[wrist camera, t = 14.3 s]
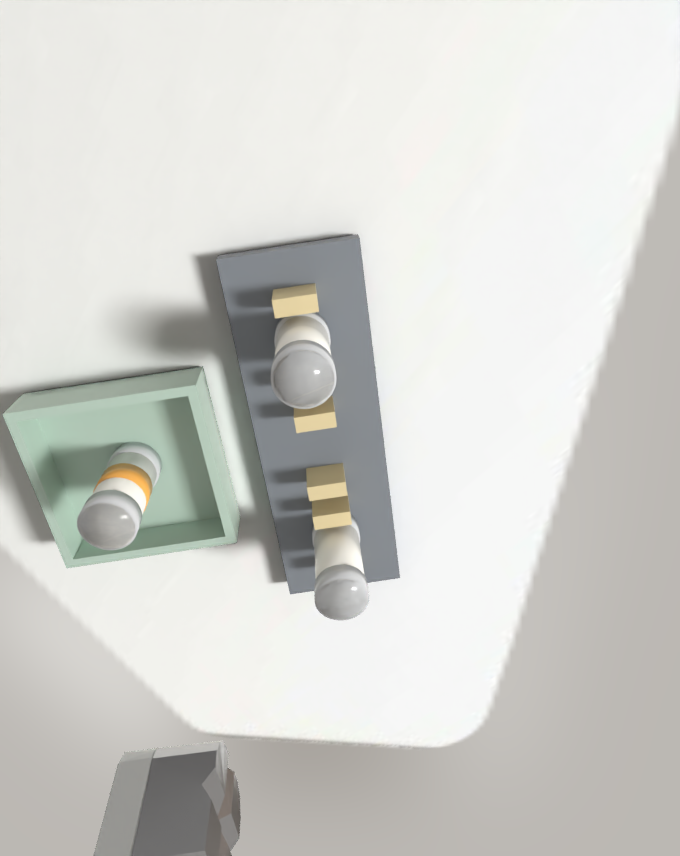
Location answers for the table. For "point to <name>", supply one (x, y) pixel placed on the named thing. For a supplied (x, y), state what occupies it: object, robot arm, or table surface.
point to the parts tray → (104, 432)
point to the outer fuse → (339, 572)
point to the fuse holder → (325, 424)
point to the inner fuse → (303, 361)
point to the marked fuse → (120, 497)
